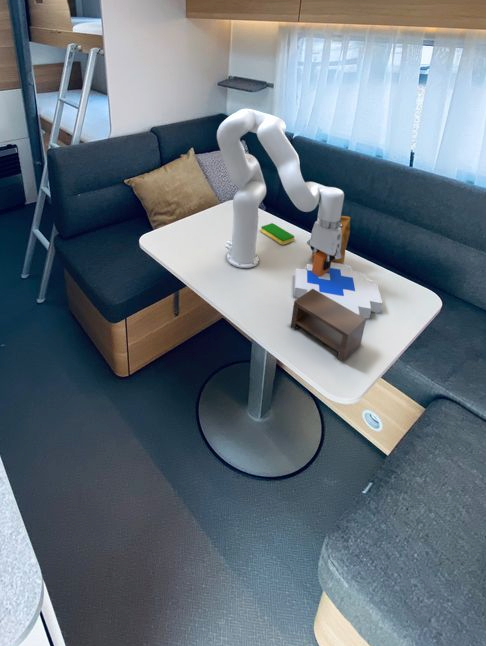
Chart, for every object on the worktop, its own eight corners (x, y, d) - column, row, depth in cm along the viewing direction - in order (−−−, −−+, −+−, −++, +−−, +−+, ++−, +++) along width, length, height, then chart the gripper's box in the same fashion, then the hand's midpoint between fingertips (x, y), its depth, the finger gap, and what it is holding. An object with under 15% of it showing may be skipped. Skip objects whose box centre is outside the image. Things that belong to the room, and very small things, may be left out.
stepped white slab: (294, 302, 135) (296, 256, 160) (293, 311, 136) (295, 265, 161) (386, 319, 128) (373, 269, 153) (384, 329, 129) (371, 278, 154)
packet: (311, 272, 150) (314, 253, 147) (320, 266, 154) (323, 248, 151) (319, 277, 148) (322, 258, 145) (329, 271, 151) (332, 252, 148)
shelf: (290, 326, 129) (294, 301, 126) (308, 313, 135) (312, 288, 132) (342, 362, 117) (348, 335, 113) (360, 345, 123) (366, 319, 119)
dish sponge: (282, 245, 175) (283, 240, 174) (260, 231, 186) (260, 226, 185) (294, 240, 178) (294, 236, 177) (271, 227, 189) (272, 222, 188)
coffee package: (319, 250, 172) (326, 203, 164) (347, 263, 163) (356, 214, 156) (306, 259, 165) (314, 211, 157) (335, 273, 157) (345, 222, 149)
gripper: (355, 227, 140) (347, 273, 146) (313, 210, 152) (307, 253, 158) (344, 234, 135) (336, 281, 142) (301, 216, 147) (296, 259, 153)
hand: (321, 265), depth 150 cm, fingers closed on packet, 3 cm apart
